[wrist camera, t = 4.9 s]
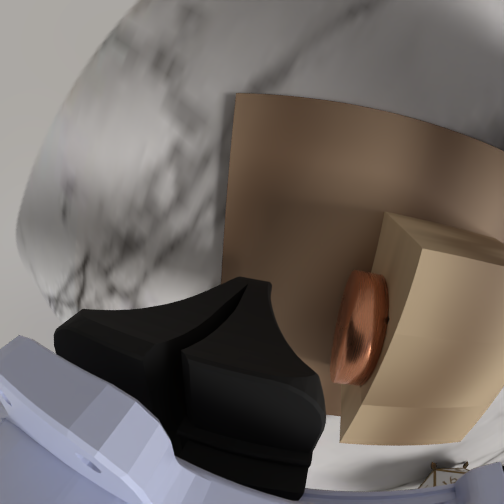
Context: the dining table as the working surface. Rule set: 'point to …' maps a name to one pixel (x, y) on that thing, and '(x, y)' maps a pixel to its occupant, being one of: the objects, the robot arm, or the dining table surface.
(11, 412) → the robot arm
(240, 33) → the dining table surface
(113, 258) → the dining table surface
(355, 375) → the pin
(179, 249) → the dining table surface
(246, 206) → the block
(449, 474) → the game die
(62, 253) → the dining table surface
